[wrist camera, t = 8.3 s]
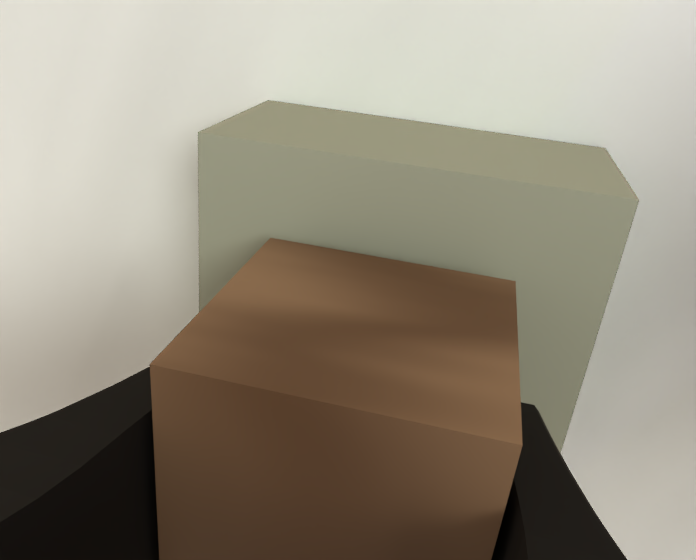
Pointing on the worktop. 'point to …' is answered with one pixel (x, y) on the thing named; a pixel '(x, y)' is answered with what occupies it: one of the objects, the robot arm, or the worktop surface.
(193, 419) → the walnut cube
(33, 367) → the worktop surface
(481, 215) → the sage base block
